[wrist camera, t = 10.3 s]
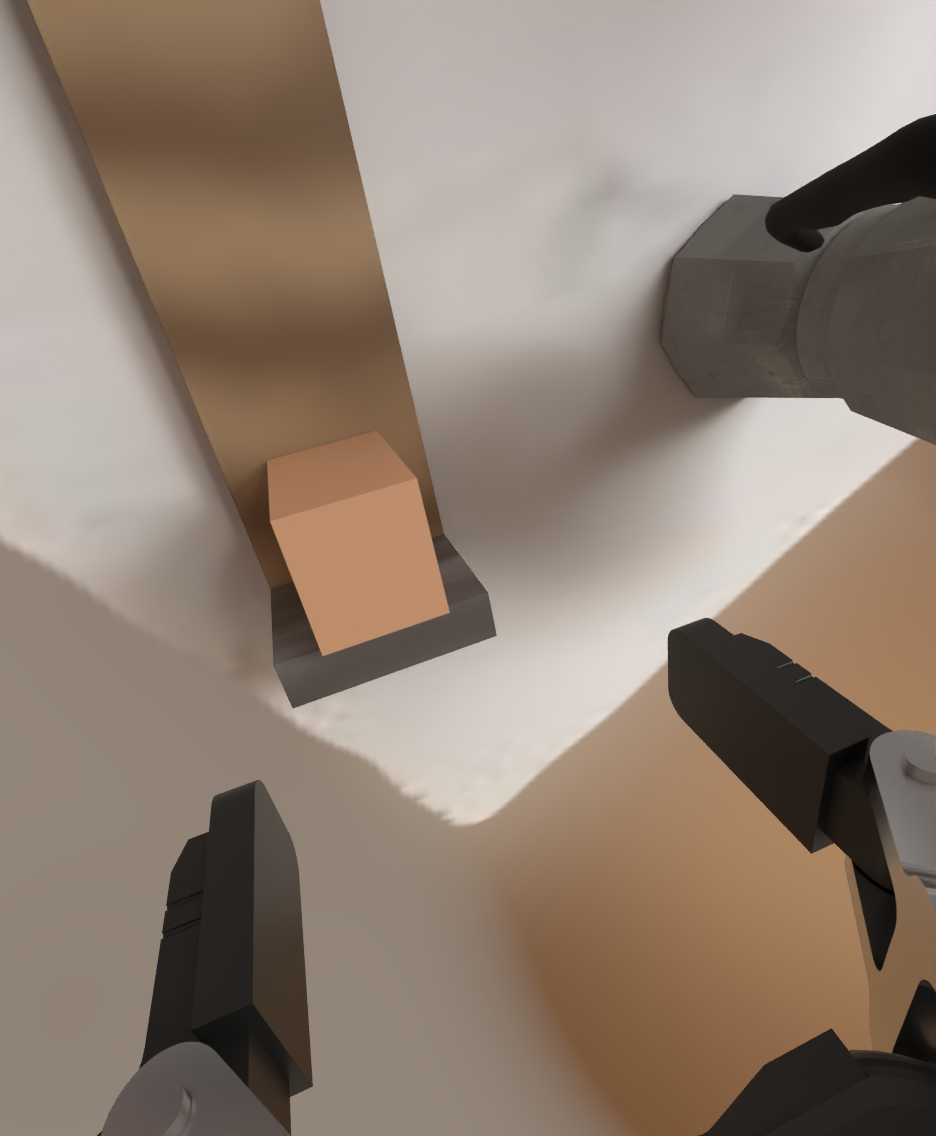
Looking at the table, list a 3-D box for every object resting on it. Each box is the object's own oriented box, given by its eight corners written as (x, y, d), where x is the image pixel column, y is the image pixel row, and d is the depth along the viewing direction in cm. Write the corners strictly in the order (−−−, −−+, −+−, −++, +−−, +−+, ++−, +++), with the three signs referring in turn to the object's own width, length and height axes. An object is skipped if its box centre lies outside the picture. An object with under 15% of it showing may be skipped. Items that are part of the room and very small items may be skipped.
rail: (-14, -114, 16) (-189, -374, 10) (280, -137, 17) (292, -374, 11) (284, 613, 27) (292, 708, 21) (445, 561, 29) (496, 635, 23)
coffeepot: (874, 267, 29) (1551, 244, 14) (774, 442, 32) (1252, 584, 17) (652, 83, 23) (1473, -346, 7) (549, 322, 25) (997, 373, 10)
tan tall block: (267, 460, 23) (269, 521, 17) (376, 430, 24) (416, 478, 18) (307, 569, 25) (322, 656, 19) (405, 538, 26) (449, 612, 20)
